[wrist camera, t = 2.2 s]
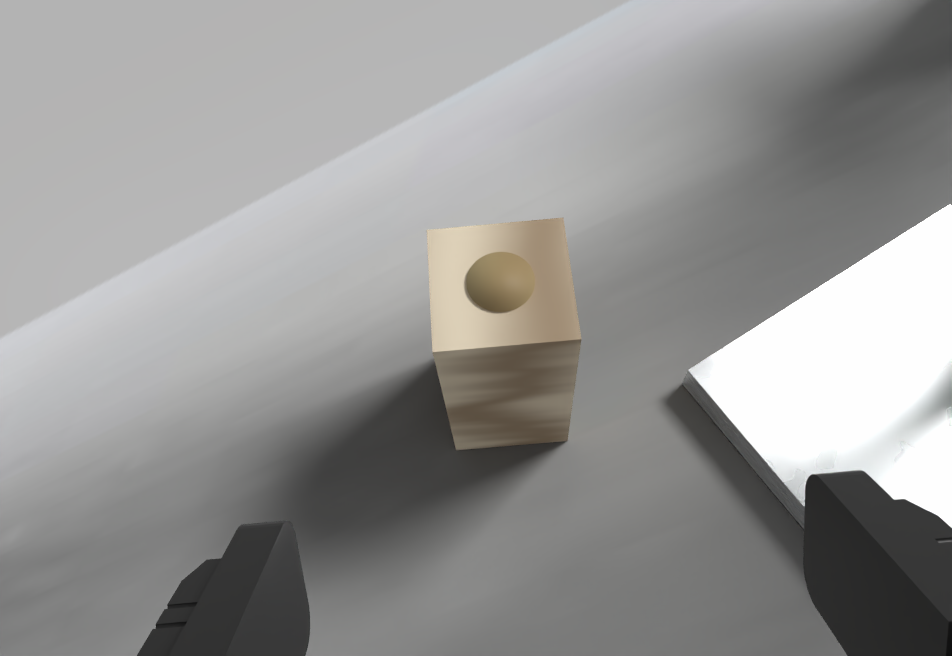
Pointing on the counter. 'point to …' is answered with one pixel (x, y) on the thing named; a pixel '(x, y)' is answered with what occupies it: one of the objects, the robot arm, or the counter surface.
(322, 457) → the counter surface
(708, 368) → the press
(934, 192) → the counter surface
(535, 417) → the block
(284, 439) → the counter surface
